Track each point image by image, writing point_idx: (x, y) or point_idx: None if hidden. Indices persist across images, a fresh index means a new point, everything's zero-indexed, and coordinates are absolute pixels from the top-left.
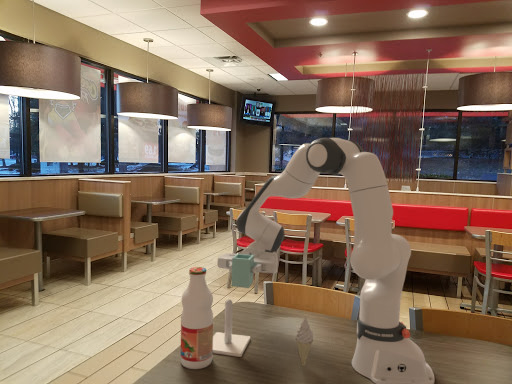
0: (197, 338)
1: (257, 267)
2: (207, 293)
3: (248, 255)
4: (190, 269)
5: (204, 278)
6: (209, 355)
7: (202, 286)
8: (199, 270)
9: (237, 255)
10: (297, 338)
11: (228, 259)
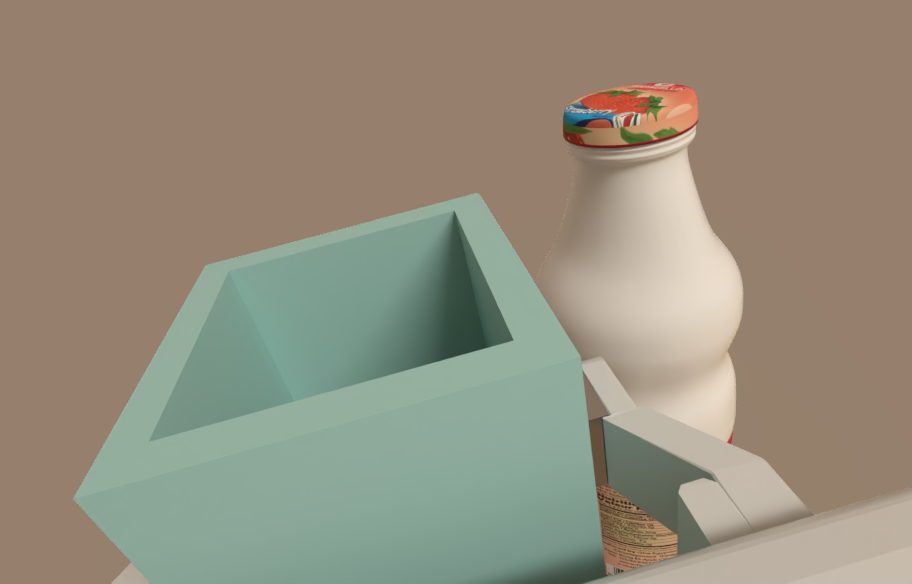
0: None
1: (139, 573)
2: (548, 260)
3: (241, 422)
4: (659, 84)
5: (576, 176)
6: None
7: (566, 205)
8: (587, 99)
9: (493, 297)
10: None
11: (891, 497)
